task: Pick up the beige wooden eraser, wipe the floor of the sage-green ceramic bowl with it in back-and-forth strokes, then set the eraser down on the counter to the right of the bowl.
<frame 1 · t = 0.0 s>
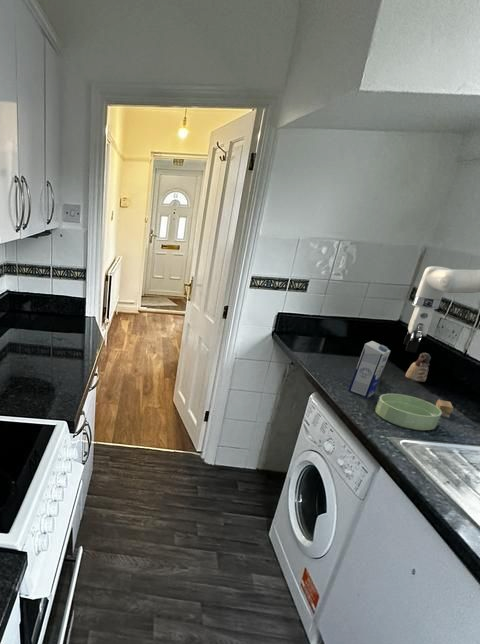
hand: (409, 348, 154), 18 cm above the counter, tool pointing down, fingers open, 9 cm apart
milk carton: (360, 394, 158), on the counter
figurine: (414, 379, 175), on the counter
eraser: (441, 413, 146), on the counter
bowl: (404, 418, 140), on the counter
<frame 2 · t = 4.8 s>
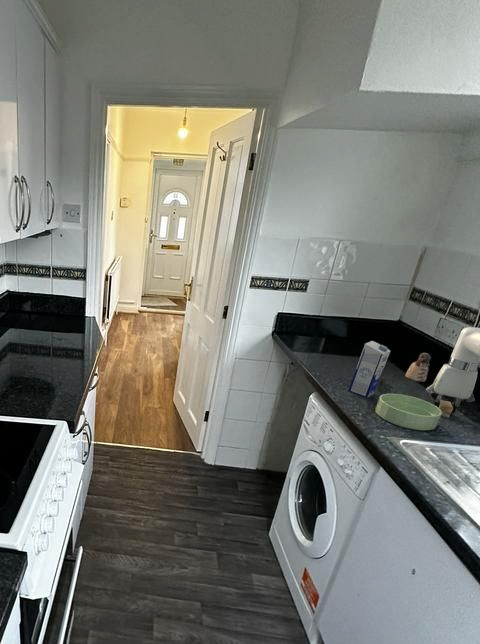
hand: (441, 412, 146), 0 cm above the counter, tool pointing down, fingers closed on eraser, 3 cm apart
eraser: (441, 413, 146), on the counter, touching gripper
everything else where it was.
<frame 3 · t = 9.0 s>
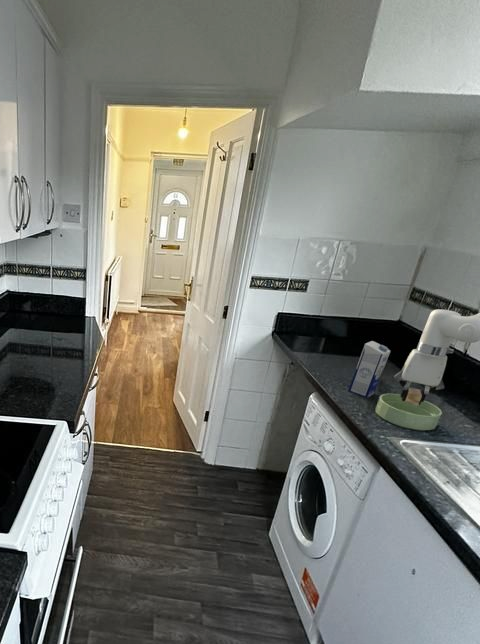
hand: (410, 400, 138), 7 cm above the counter, tool pointing down, fingers closed on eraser, 3 cm apart
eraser: (410, 401, 138), point 6 cm above the counter, touching gripper
everything else where it was.
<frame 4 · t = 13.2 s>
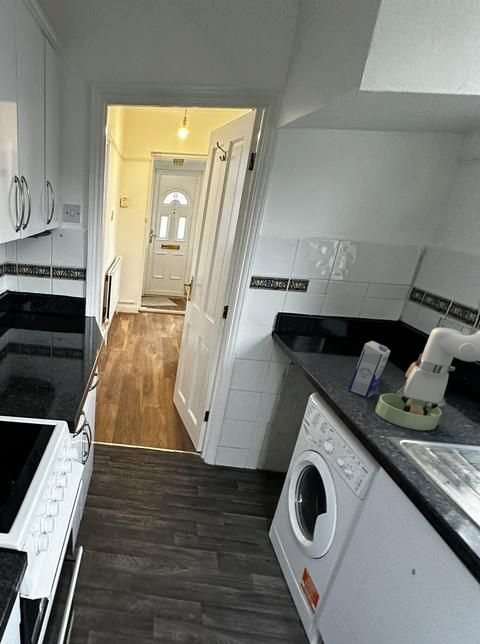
hand: (412, 417, 139), 1 cm above the counter, tool pointing down, fingers closed on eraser, 3 cm apart
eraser: (412, 417, 139), point 1 cm above the counter, touching gripper
everything else where it was.
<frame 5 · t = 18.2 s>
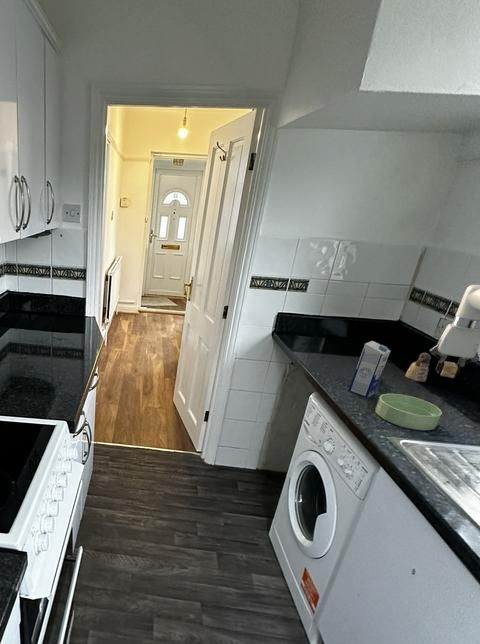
hand: (446, 373, 145), 13 cm above the counter, tool pointing down, fingers closed on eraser, 3 cm apart
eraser: (445, 374, 145), point 13 cm above the counter, touching gripper
everything else where it was.
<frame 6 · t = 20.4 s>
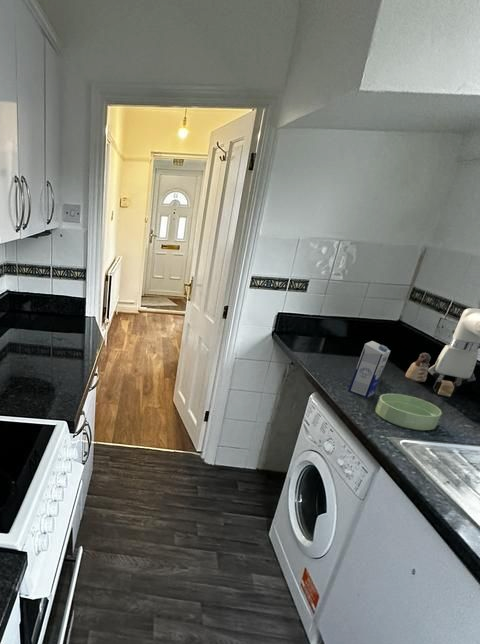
hand: (443, 392, 150), 5 cm above the counter, tool pointing down, fingers closed on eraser, 3 cm apart
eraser: (442, 392, 150), point 5 cm above the counter, touching gripper
everything else where it was.
when the fingers open (0 cm above the counter, at t = 22.0 s): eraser stays where it is, on the counter.
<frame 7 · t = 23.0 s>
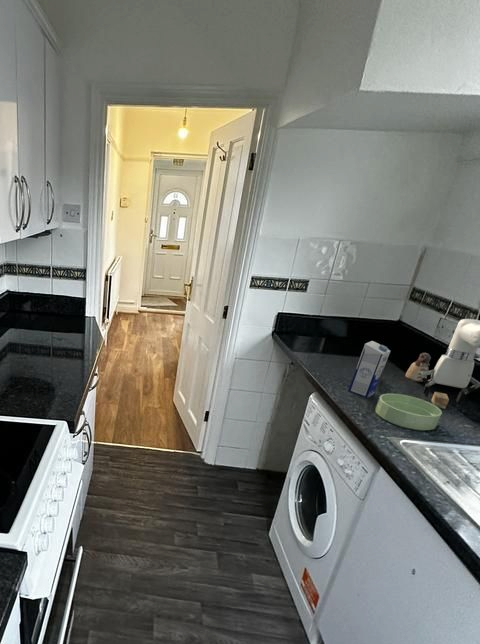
hand: (441, 399, 151), 3 cm above the counter, tool pointing down, fingers open, 9 cm apart
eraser: (437, 404, 152), on the counter
everything else where it was.
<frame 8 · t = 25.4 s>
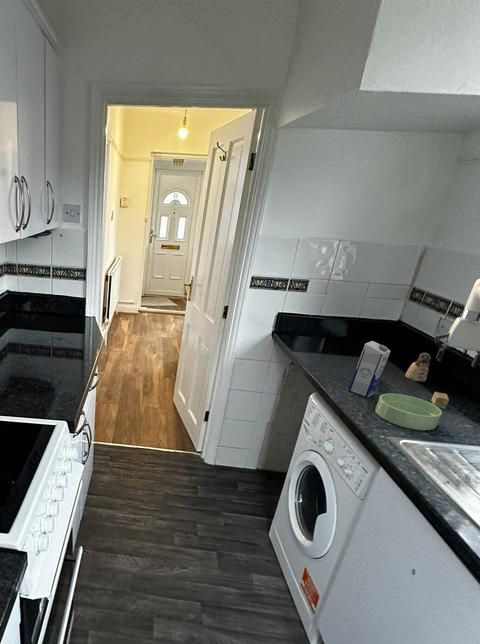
hand: (455, 363, 146), 16 cm above the counter, tool pointing down, fingers open, 9 cm apart
nothing on the counter moved.
at the end: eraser inside the target area (0.1 cm from its centre), on the counter; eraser tilted 0°; the gripper is holding nothing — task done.
